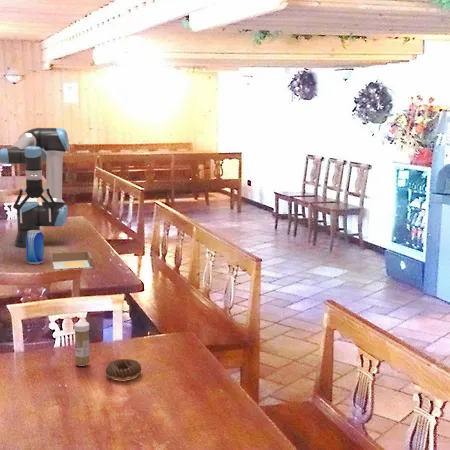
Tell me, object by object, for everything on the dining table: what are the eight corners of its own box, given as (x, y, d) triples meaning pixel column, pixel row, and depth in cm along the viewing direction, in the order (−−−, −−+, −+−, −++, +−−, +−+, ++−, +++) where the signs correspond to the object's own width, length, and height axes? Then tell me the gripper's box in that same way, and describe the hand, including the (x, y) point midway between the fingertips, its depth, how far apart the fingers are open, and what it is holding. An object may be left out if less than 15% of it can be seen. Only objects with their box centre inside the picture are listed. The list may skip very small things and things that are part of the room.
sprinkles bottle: (72, 364, 200) (71, 323, 198) (84, 360, 204) (83, 320, 201) (81, 369, 197) (80, 327, 195) (93, 364, 201) (92, 323, 198)
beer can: (39, 265, 315) (38, 233, 312) (23, 264, 316) (22, 232, 313) (47, 261, 323) (46, 230, 320) (31, 260, 325) (30, 229, 321)
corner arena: (52, 262, 320) (52, 253, 319) (89, 260, 326) (89, 251, 325) (54, 270, 306) (53, 260, 305) (92, 268, 312) (92, 258, 311)
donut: (144, 369, 199) (144, 357, 198) (137, 384, 188) (137, 371, 187) (110, 368, 199) (110, 355, 198) (101, 382, 189) (101, 370, 188)
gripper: (6, 180, 304) (9, 224, 308) (61, 179, 312) (62, 222, 316) (6, 178, 311) (8, 221, 315) (59, 177, 319) (61, 219, 323)
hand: (35, 222), depth 316 cm, fingers open, 13 cm apart
